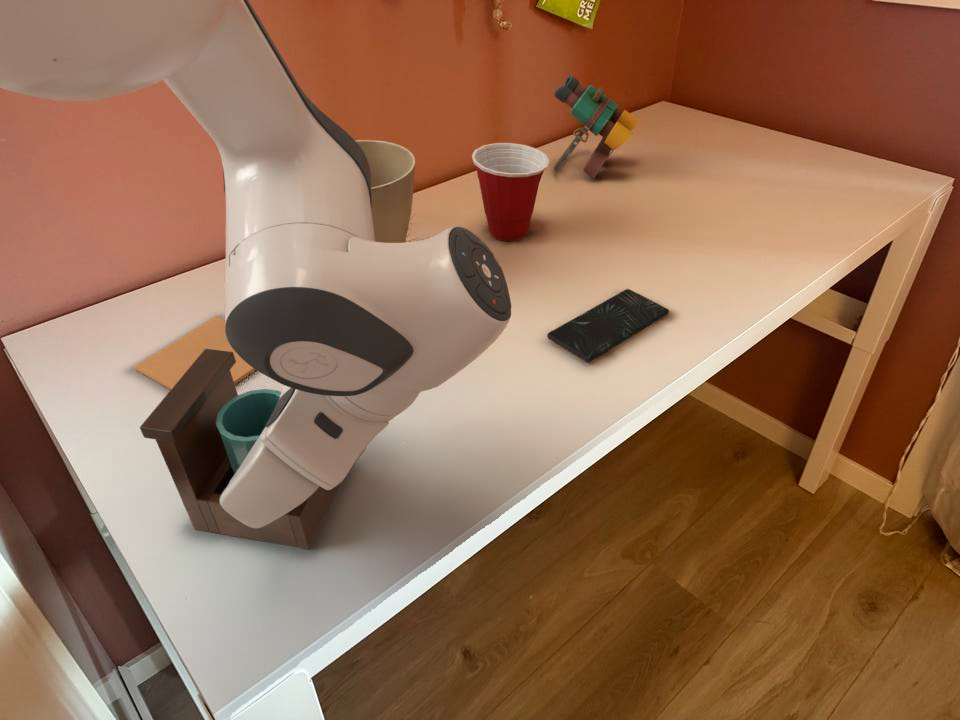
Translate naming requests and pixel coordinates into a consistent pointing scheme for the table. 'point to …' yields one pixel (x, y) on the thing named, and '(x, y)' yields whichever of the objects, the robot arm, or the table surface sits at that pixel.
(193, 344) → the mat
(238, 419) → the cup
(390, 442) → the table surface
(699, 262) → the table surface
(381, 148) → the plant pot
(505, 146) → the plastic cup
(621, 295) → the smartphone
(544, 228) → the table surface
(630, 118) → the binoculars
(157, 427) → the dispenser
